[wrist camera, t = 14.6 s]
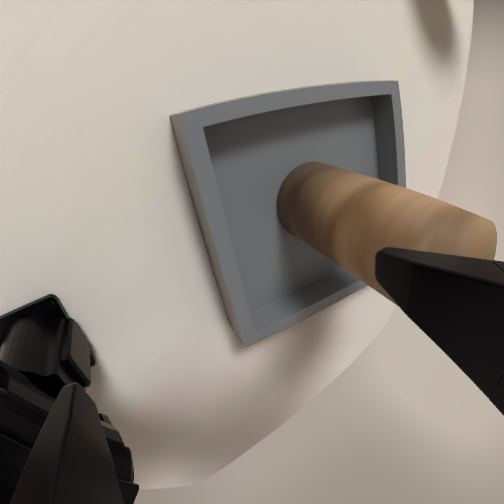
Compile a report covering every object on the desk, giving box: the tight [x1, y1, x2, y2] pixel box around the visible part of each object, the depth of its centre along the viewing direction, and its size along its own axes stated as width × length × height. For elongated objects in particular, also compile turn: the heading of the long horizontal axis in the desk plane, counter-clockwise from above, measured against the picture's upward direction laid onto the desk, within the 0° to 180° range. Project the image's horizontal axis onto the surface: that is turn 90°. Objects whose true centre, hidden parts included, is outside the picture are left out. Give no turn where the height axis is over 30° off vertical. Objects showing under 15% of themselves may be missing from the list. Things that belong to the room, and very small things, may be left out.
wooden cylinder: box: [277, 162, 497, 306], centre depth 17 cm, size 6×6×13 cm
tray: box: [170, 81, 406, 347], centre depth 22 cm, size 16×16×3 cm
